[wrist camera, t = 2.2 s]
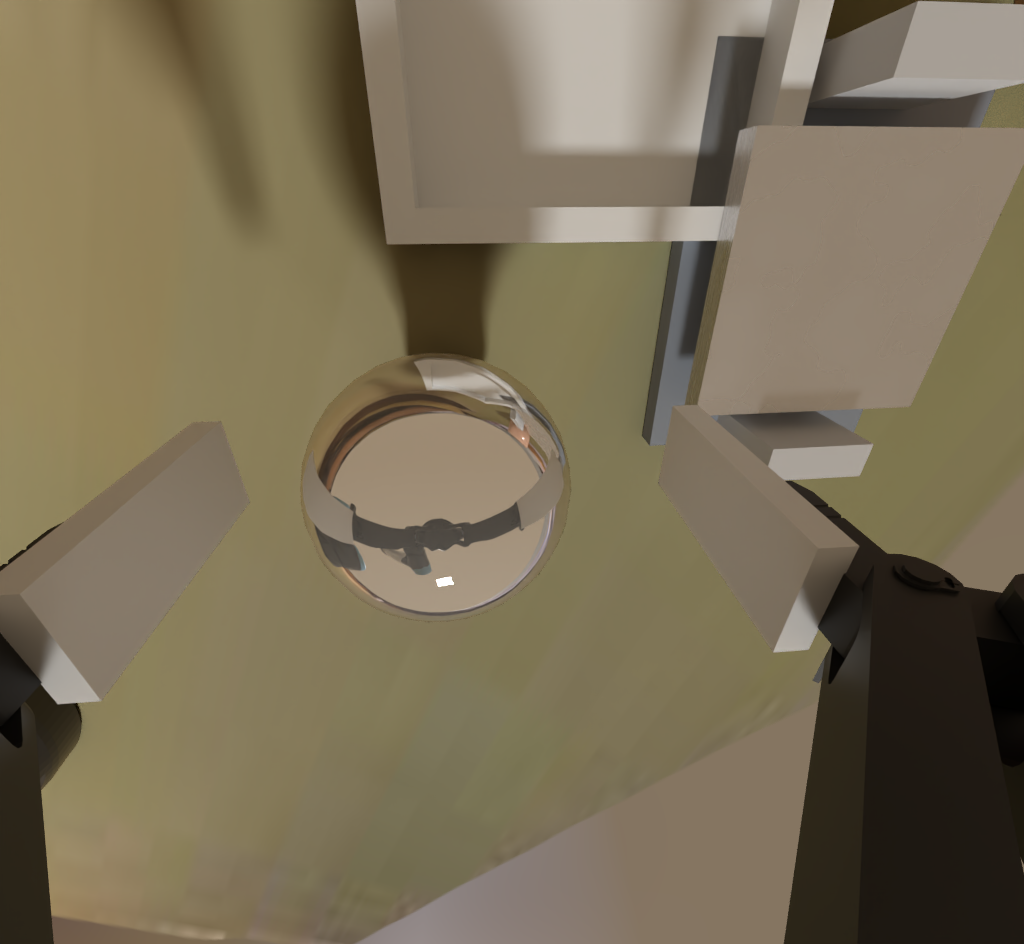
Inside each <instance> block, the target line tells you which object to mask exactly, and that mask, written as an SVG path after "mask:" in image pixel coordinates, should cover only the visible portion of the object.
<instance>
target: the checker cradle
mask: <svg viewBox="0 0 1024 944" xmlns="http://www.w3.org/2000/svg"><path fill="white" fill-rule="evenodd" d="M720 37H721V38H720ZM726 37H727V41H726V39H725V36H723V37H722V36H718V39H717V42H719V41H720V40H722V39H723V40H722V42H720V45H718V44H719V43H718V44H717V45H718V46H717V45H716V50H718V52H717V53H718V54H720V55H719V56H718V54H717V56H718V57H719V58H720V57H721V58H720V59H719V60H718V57H717V56H715V57H716V58H715V57H714V60H715V62H714V64H713V65H714V66H713V67H714V68H713V69H712V71H714V72H713V73H712V74H713V75H714V73H715V75H714V76H713V75H711V78H712V76H713V80H711V81H712V82H711V81H710V83H712V85H711V86H712V88H714V89H716V88H718V87H719V86H720V85H719V84H720V81H717V82H716V81H715V80H717V78H718V77H720V76H721V79H722V78H724V75H725V76H726V75H727V74H731V75H732V74H733V73H732V72H733V71H734V70H735V69H736V68H737V67H738V66H739V67H740V66H741V64H743V65H744V66H745V64H747V63H746V62H744V60H745V59H748V60H750V59H751V60H752V59H753V60H754V58H755V61H756V60H757V59H756V57H758V56H756V55H757V54H758V53H761V52H762V47H761V45H760V43H761V44H762V42H763V41H764V37H760V38H762V39H763V40H761V39H760V38H759V40H757V39H758V38H757V37H755V38H757V39H755V38H754V37H753V39H751V38H750V37H749V39H748V37H746V38H745V40H743V38H744V37H743V36H742V37H740V36H739V39H740V38H741V39H740V40H741V41H740V42H738V41H739V40H738V38H737V37H738V36H736V37H735V39H732V38H733V37H734V36H726ZM730 37H731V38H730ZM728 39H729V42H730V41H731V42H730V43H728ZM736 39H737V40H736ZM747 39H748V40H749V42H747V43H746V41H748V40H747ZM754 39H755V41H754V42H756V46H757V45H760V46H758V47H755V45H754V46H753V44H754V42H753V43H752V40H754ZM732 40H733V41H734V40H735V41H737V42H738V44H737V45H738V47H739V48H738V50H740V49H741V50H742V53H743V55H746V53H748V54H747V55H749V54H750V53H751V57H753V56H754V55H752V54H753V53H752V52H753V51H751V50H750V53H749V52H748V51H749V50H748V51H747V50H746V49H745V47H747V44H748V43H749V44H750V43H751V44H750V45H751V47H753V48H754V47H755V48H754V53H755V50H756V49H757V48H758V49H759V48H760V49H761V50H760V49H759V50H760V51H761V52H758V53H757V51H759V50H756V55H755V56H756V57H753V58H748V56H747V55H746V56H747V58H746V56H745V57H743V58H745V59H743V58H740V55H741V54H742V53H741V54H740V51H739V52H737V51H738V50H736V49H737V45H736V48H735V46H734V47H733V45H735V44H736V43H737V42H735V41H734V42H735V44H733V41H732ZM742 40H743V41H742ZM724 41H725V42H726V43H725V42H724ZM744 41H745V42H744ZM758 41H760V43H759V42H758ZM723 42H724V43H723ZM742 42H744V43H745V44H744V43H742ZM721 43H722V44H721ZM727 43H728V45H727ZM740 43H742V46H743V44H744V47H743V48H742V46H741V44H740ZM763 43H764V42H763ZM723 44H724V46H725V47H724V48H723ZM725 44H726V45H725ZM729 44H730V47H729ZM721 45H722V46H721ZM731 45H732V46H731ZM739 45H740V46H739ZM745 45H746V46H745ZM719 46H721V47H720V49H719ZM748 46H749V45H748ZM717 47H718V49H717ZM727 47H728V49H729V48H730V49H729V50H727ZM731 47H733V48H735V49H734V50H736V52H737V53H736V52H735V54H737V55H736V56H739V57H738V59H739V58H740V59H739V61H740V60H741V59H742V61H743V62H742V61H741V62H742V63H741V62H740V63H741V64H740V65H739V62H738V60H736V57H735V55H734V53H733V52H734V50H732V51H731ZM751 47H750V46H749V47H748V48H747V49H752V50H753V48H751ZM725 48H726V51H725ZM733 48H732V49H733ZM721 49H722V50H721ZM727 51H728V52H727ZM745 51H747V52H746V53H745ZM715 52H716V51H715ZM720 52H721V53H720ZM722 52H724V54H725V53H726V52H727V53H728V54H729V52H730V53H731V54H730V55H732V54H733V57H734V58H733V57H731V59H729V58H730V57H729V56H730V55H728V54H725V55H724V54H723V53H722ZM738 53H739V54H740V55H738ZM744 53H745V54H744ZM722 54H723V57H722ZM726 55H727V56H726ZM758 55H759V56H760V54H758ZM724 57H727V58H728V59H727V58H726V59H727V63H730V60H731V63H733V61H734V59H735V63H736V61H737V63H736V65H734V64H735V63H734V64H732V65H734V66H732V65H731V66H732V70H730V69H731V66H730V69H729V65H730V64H731V63H730V64H728V68H726V67H727V65H725V64H727V63H726V59H725V58H724ZM741 57H742V56H741ZM749 57H750V56H749ZM760 57H761V56H760ZM760 57H759V58H760ZM722 58H723V59H722ZM732 58H733V59H732ZM759 58H758V61H756V62H754V61H749V62H748V60H746V61H747V62H748V63H749V65H750V64H751V66H752V68H751V66H749V68H750V69H749V68H748V70H747V66H748V65H747V66H746V67H744V69H745V68H746V72H747V71H748V72H750V73H745V72H744V71H745V70H743V68H742V67H743V65H742V67H740V68H742V69H741V70H738V71H737V70H736V71H734V75H736V74H737V76H738V74H739V79H738V77H737V79H736V76H735V77H734V78H735V80H736V81H735V80H734V79H732V78H733V76H734V75H732V77H730V78H731V80H730V79H729V78H728V76H729V75H728V76H727V80H725V78H726V77H725V78H724V79H722V80H721V84H723V86H724V85H725V84H724V83H725V82H726V81H727V84H728V86H730V84H731V83H732V82H734V83H732V85H731V86H732V87H731V88H733V87H734V85H733V84H735V83H736V84H735V87H734V89H732V90H733V91H734V94H733V98H734V95H735V94H736V95H737V94H738V95H739V93H737V92H736V93H735V89H736V88H737V89H739V88H741V89H739V90H742V89H744V91H745V92H747V90H748V92H747V94H749V93H750V92H749V91H750V89H752V88H753V87H752V88H750V89H747V88H748V87H747V86H748V84H747V83H748V82H749V83H751V84H749V85H752V84H753V82H751V81H752V80H751V79H752V77H749V78H748V75H746V74H750V75H751V76H752V74H753V73H754V72H756V73H754V75H756V74H757V70H756V69H755V68H754V67H755V65H756V66H757V64H759V63H758V62H759V61H760V59H759ZM722 60H723V61H724V60H725V61H724V63H725V64H724V63H723V64H724V67H719V66H722V65H723V64H722V65H720V64H721V62H723V61H722ZM732 60H733V61H732ZM716 61H717V63H718V64H719V65H718V67H716V66H715V63H716ZM728 61H729V62H728ZM750 62H751V63H750ZM717 63H716V65H717ZM744 63H745V64H744ZM752 63H753V64H752ZM755 63H757V64H755ZM737 64H738V65H737ZM754 64H755V65H754ZM753 65H754V66H753ZM725 66H726V67H725ZM735 66H737V67H735ZM715 67H716V68H715ZM733 67H734V68H733ZM739 67H738V68H737V69H739ZM758 67H759V66H758ZM758 67H756V68H757V69H758ZM717 68H719V69H720V70H722V72H723V71H724V73H721V72H720V73H721V74H720V73H719V71H720V70H718V71H717ZM724 68H726V72H727V73H726V72H725V69H724ZM753 68H754V70H756V71H754V70H753V71H754V72H753V71H751V70H752V69H753ZM714 69H715V70H714ZM723 69H724V70H723ZM727 69H728V70H727ZM749 70H750V71H749ZM715 71H716V72H715ZM728 71H730V73H729V72H728ZM731 71H732V72H731ZM741 71H742V72H741ZM739 72H741V74H740V73H739ZM743 72H744V74H745V75H743V77H744V76H747V77H746V78H748V79H750V78H751V79H750V80H751V81H750V80H748V79H746V78H745V77H744V79H746V80H748V82H747V83H746V84H747V86H746V87H747V88H746V89H747V90H745V85H746V84H745V83H743V79H742V78H743V77H741V76H740V75H742V74H743ZM751 72H753V73H751ZM718 73H719V74H720V75H718ZM725 73H726V74H725ZM716 74H717V75H718V77H717V78H715V79H714V77H716V76H717V75H716ZM723 74H724V75H723ZM722 75H723V77H722ZM750 75H749V76H750ZM754 75H753V81H754V83H755V82H756V79H754ZM756 76H757V75H756ZM740 77H741V79H742V80H741V79H740ZM755 78H756V77H755ZM719 80H720V78H719ZM723 80H725V81H723ZM738 80H739V81H738ZM713 81H715V82H714V83H715V84H713ZM722 81H723V82H722ZM728 81H729V83H728ZM730 81H731V83H730ZM737 81H738V83H737ZM718 82H719V83H718ZM740 82H741V84H742V83H743V85H742V86H744V88H742V87H741V86H740V85H739V83H740ZM745 82H746V81H745ZM716 83H717V84H718V85H719V86H717V84H716ZM1021 83H1024V5H1022V4H994V3H966V2H937V1H917V2H914V3H912V4H910V5H908V6H906V7H903V8H901V9H899V10H897V11H895V12H892V13H890V14H888V15H886V16H884V17H881V18H879V19H877V20H875V21H873V22H870V23H868V24H866V25H864V26H862V27H859V28H857V29H855V30H853V31H851V32H848V33H846V34H844V35H842V36H840V37H837V38H835V39H824V43H823V47H822V51H821V55H820V59H819V63H818V67H817V70H816V74H815V78H814V82H813V86H812V90H811V94H810V98H809V102H808V106H807V110H806V114H805V117H804V121H803V125H802V126H869V127H963V128H980V125H981V123H982V121H983V118H984V116H985V113H986V111H987V109H988V106H989V104H990V101H991V99H992V96H993V94H994V92H995V89H999V88H1004V87H1008V86H1012V85H1017V84H1021ZM713 85H714V86H715V85H716V88H715V87H714V86H713ZM737 85H738V86H739V87H737ZM754 85H755V84H754ZM754 85H753V86H754ZM723 86H720V89H721V87H723ZM726 86H727V85H725V87H726ZM725 87H723V88H725ZM750 87H751V86H750ZM754 87H755V86H754ZM723 88H722V89H721V90H719V88H718V90H717V89H716V90H717V91H716V93H715V90H713V89H711V87H710V88H709V90H710V89H711V90H710V93H708V94H711V93H712V90H713V92H714V93H715V95H717V98H718V96H719V95H720V93H721V92H723V93H721V95H720V96H722V94H725V92H727V89H728V92H727V93H728V94H727V93H726V94H725V95H726V96H725V95H723V97H725V99H726V97H728V95H729V94H731V96H732V93H733V92H732V93H730V89H731V88H729V87H728V88H726V89H724V90H723ZM737 89H736V91H738V90H737ZM725 90H726V91H725ZM719 91H720V93H719ZM724 91H725V92H724ZM752 91H754V90H753V89H752ZM738 92H740V94H741V91H738ZM742 92H743V90H742ZM718 94H719V95H718ZM743 94H745V93H743ZM743 94H742V95H743ZM747 94H746V95H744V96H745V102H746V100H748V101H751V99H750V97H749V99H748V97H746V96H748V95H747ZM752 94H753V92H752ZM736 95H735V98H736V97H737V98H736V99H738V98H739V97H740V96H741V95H740V96H738V95H737V96H736ZM708 96H709V97H708V100H707V102H709V104H710V103H711V102H713V104H715V103H716V102H717V105H716V104H715V105H716V108H717V106H718V108H719V109H720V110H719V109H718V108H717V109H718V110H717V109H714V110H713V109H711V111H713V112H714V111H715V110H717V112H718V111H719V112H720V113H717V112H716V111H715V113H717V114H716V115H717V117H718V116H719V117H718V118H719V120H720V118H722V116H724V115H725V117H727V116H726V115H728V116H729V114H728V113H730V112H729V111H728V110H729V109H730V111H731V109H732V111H734V113H733V114H735V115H734V116H739V115H738V113H739V111H741V112H740V113H742V114H743V115H744V117H745V114H744V113H743V111H742V110H739V109H740V108H738V113H737V112H736V110H737V107H739V106H740V105H741V104H739V105H738V106H736V105H737V104H738V102H737V101H736V100H735V99H733V98H732V97H731V96H730V98H731V101H732V99H733V100H735V104H736V103H737V104H736V105H735V106H736V107H735V106H734V107H731V106H732V105H734V101H732V102H733V104H730V100H728V98H727V102H725V101H724V102H721V101H723V100H721V99H722V97H720V96H719V98H718V99H717V101H716V102H714V101H715V100H716V98H714V94H713V93H712V95H711V96H712V97H713V100H712V98H710V97H711V96H710V95H708ZM744 96H743V97H744ZM749 96H751V93H750V94H749ZM751 97H752V96H751ZM709 98H710V99H711V100H709ZM730 98H729V99H730ZM746 98H747V99H746ZM714 99H715V100H714ZM719 99H720V101H719ZM741 99H742V97H741V98H739V100H741ZM739 100H738V101H739ZM743 100H744V99H743ZM710 101H711V102H710ZM718 101H719V102H718ZM741 101H742V100H741ZM748 101H747V103H744V101H742V102H740V101H739V103H743V105H745V104H747V105H746V106H749V105H751V104H750V103H751V102H750V103H749V104H748ZM720 102H721V104H719V105H718V103H720ZM732 102H731V103H732ZM722 103H723V105H724V106H720V105H722ZM726 103H728V104H727V105H729V104H730V108H729V109H728V106H726ZM707 105H708V104H707ZM707 105H706V108H708V110H707V109H706V111H707V112H708V111H709V106H708V107H707ZM711 105H712V103H711V104H710V107H711ZM715 105H712V106H713V108H714V106H715ZM743 105H742V106H743ZM719 106H720V107H719ZM746 106H744V110H746V109H747V108H748V107H746ZM721 107H722V109H723V108H725V107H726V108H725V109H726V110H725V109H724V110H725V111H728V112H726V114H725V111H724V112H722V114H721ZM745 107H746V109H745ZM749 107H750V106H749ZM711 108H712V107H711ZM735 108H736V110H733V109H735ZM742 109H743V108H742ZM748 109H749V110H750V108H748ZM748 109H747V110H746V111H745V113H746V112H747V111H748ZM711 111H709V112H710V113H709V112H708V113H707V112H706V113H707V115H708V114H711V116H712V113H713V112H712V113H711ZM722 111H723V110H722ZM706 113H705V117H706ZM715 113H714V116H715V119H712V117H711V119H712V120H713V121H714V122H715V124H713V125H716V122H717V121H718V119H717V121H716V118H717V117H716V115H715ZM740 113H739V114H740ZM719 114H721V117H720V115H719ZM723 114H724V115H723ZM730 114H731V115H730V116H731V118H732V115H733V114H732V113H730ZM743 115H740V118H741V117H743ZM746 115H747V114H746ZM714 116H713V117H714ZM748 116H749V111H748ZM748 116H747V117H748ZM705 117H704V118H705ZM709 117H710V115H709ZM709 117H707V119H706V118H705V119H704V121H705V120H706V121H707V122H704V123H703V125H705V126H706V125H708V123H710V121H709V120H711V119H710V118H709ZM744 117H743V120H744ZM729 118H730V117H729ZM731 118H730V119H731ZM734 118H735V117H734ZM734 118H732V119H733V120H732V119H731V122H733V123H731V124H733V125H734V123H735V125H736V122H737V121H736V120H735V119H734ZM740 118H739V119H737V118H736V119H737V120H738V121H740V120H742V119H740ZM745 118H746V117H745ZM708 119H709V120H708ZM722 119H723V120H724V122H722V120H721V126H722V123H723V126H726V125H724V124H726V123H727V124H728V126H730V125H731V124H730V123H728V120H727V119H728V118H727V119H726V118H725V119H724V117H723V118H722ZM712 120H711V123H712ZM725 120H727V121H726V123H725ZM734 120H735V121H734ZM745 120H746V119H745ZM708 121H709V122H708ZM729 121H730V120H729ZM746 121H748V120H746ZM746 121H743V122H746ZM740 122H741V124H742V121H740ZM706 123H707V124H706ZM711 123H710V125H711ZM737 123H738V122H737ZM729 124H730V125H729ZM741 124H740V123H739V125H737V126H736V128H734V129H735V130H737V129H738V128H739V127H738V126H740V125H741ZM746 124H747V123H745V125H744V124H742V126H744V129H746V127H745V126H746ZM710 125H708V126H710ZM713 125H712V127H713ZM735 125H734V127H735ZM705 126H703V127H704V128H705V129H706V130H704V129H703V130H704V132H705V131H706V132H708V133H706V134H705V133H704V132H703V130H702V133H704V134H702V135H701V137H702V136H703V137H704V139H703V140H701V142H700V143H701V147H702V144H703V147H704V146H705V147H704V148H702V149H705V148H706V150H704V153H703V151H701V148H700V149H699V150H700V152H699V153H701V152H702V153H701V154H702V155H701V154H700V157H699V158H701V156H703V155H704V154H707V155H708V158H709V157H711V155H712V157H713V156H714V158H715V157H716V159H715V160H711V162H710V160H709V161H708V160H706V159H707V158H706V159H705V161H704V162H702V158H704V157H706V156H707V155H704V156H703V157H702V158H701V159H700V160H701V162H700V163H698V162H697V167H699V166H701V165H702V166H703V163H705V162H706V161H708V162H707V163H709V162H710V163H712V161H714V162H713V163H712V165H711V166H710V164H707V163H706V164H707V168H708V171H709V169H710V167H711V168H712V166H714V167H715V168H714V169H716V172H717V173H719V172H718V171H719V170H720V169H721V168H722V164H721V163H722V162H723V161H724V163H725V168H727V167H728V166H730V164H729V163H730V162H732V163H733V160H732V161H731V160H730V159H729V160H730V162H729V163H728V164H727V163H726V162H727V161H728V160H727V161H725V160H726V158H728V157H730V156H731V154H732V155H734V152H735V151H734V150H733V149H732V148H731V146H732V145H731V146H730V147H728V148H727V150H728V149H729V148H730V150H729V151H731V150H732V152H730V153H731V154H729V152H728V154H726V153H727V152H726V153H724V154H723V153H721V150H720V152H718V155H717V153H716V154H715V155H716V156H715V155H713V154H714V153H715V149H713V148H711V147H712V145H714V144H712V143H711V142H710V144H709V145H707V144H708V143H709V142H708V143H706V142H707V141H708V140H706V139H707V138H706V136H707V135H708V136H709V140H713V143H714V142H715V147H716V144H717V143H716V139H714V138H717V137H718V136H719V135H718V134H720V135H721V134H723V137H722V136H721V139H720V140H719V142H720V141H722V138H724V141H725V139H726V138H727V136H729V137H728V138H729V139H730V137H733V138H734V136H736V138H738V137H737V135H738V134H739V132H738V131H739V130H741V128H739V129H738V131H736V132H738V133H736V132H735V130H733V127H732V129H731V130H732V131H734V132H735V133H734V132H732V133H733V134H734V136H732V135H733V134H730V135H729V133H730V131H731V130H730V131H728V130H729V129H730V128H728V129H726V128H727V127H728V126H726V127H723V126H722V128H724V133H725V132H726V133H725V134H727V131H728V132H729V133H728V135H726V136H725V134H724V133H723V132H722V131H723V130H722V131H721V129H722V128H720V132H722V133H718V134H717V132H719V130H718V131H716V130H717V129H716V130H715V128H716V127H717V126H718V123H717V126H716V127H715V126H714V127H715V128H714V127H713V128H714V130H713V129H711V130H712V132H710V135H709V131H707V130H708V129H707V127H708V126H706V127H705ZM721 126H720V121H719V127H721ZM731 126H732V125H731ZM731 126H730V127H731ZM742 126H741V127H742ZM712 127H711V128H712ZM719 127H718V128H719ZM737 127H738V128H737ZM709 128H710V127H709ZM711 130H710V131H711ZM713 132H716V134H715V133H714V134H715V135H713V136H717V135H718V136H717V137H714V138H713V139H712V137H713V136H711V135H712V134H711V133H713ZM710 136H711V139H710ZM705 138H706V139H705ZM719 138H720V137H719ZM719 138H718V139H719ZM728 138H727V139H728ZM718 139H717V140H718ZM727 139H726V142H725V143H728V140H727ZM704 140H706V141H705V144H706V145H707V146H710V145H711V144H712V145H711V146H710V149H709V148H708V149H709V150H712V149H713V150H712V151H711V152H712V153H713V154H710V156H709V150H708V149H707V147H706V145H705V144H704ZM730 140H731V142H732V140H733V141H734V140H735V139H732V138H731V139H730ZM730 140H729V143H730ZM736 141H737V140H736ZM725 143H723V142H720V143H719V145H720V144H721V148H720V149H722V148H723V147H724V144H725ZM729 143H728V144H729ZM732 143H733V145H736V144H737V143H736V142H732ZM728 144H725V145H728ZM722 145H723V146H722ZM729 145H730V144H729ZM729 145H728V146H729ZM717 146H718V145H717ZM719 147H720V146H718V148H717V150H718V151H719ZM732 147H733V146H732ZM735 147H736V146H735ZM724 149H726V147H724V148H723V150H724ZM734 149H736V148H734ZM707 150H708V153H705V152H707ZM717 150H716V152H717ZM727 150H726V151H727ZM713 151H714V152H713ZM724 151H725V150H724ZM733 151H734V152H733ZM711 152H710V153H711ZM720 153H721V154H722V155H721V156H719V154H720ZM725 154H726V155H725ZM723 155H725V156H723ZM727 155H728V157H727ZM729 155H730V156H729ZM698 156H699V155H698ZM717 156H719V157H718V158H717ZM712 157H711V158H712ZM720 157H724V158H725V157H726V158H725V159H724V158H723V161H721V163H719V165H720V166H721V168H720V166H719V168H720V169H718V171H717V168H718V167H716V166H717V165H718V164H716V163H715V162H716V160H717V159H718V160H719V161H720V160H721V159H722V158H721V159H719V158H720ZM714 158H713V159H714ZM730 158H731V159H732V158H733V156H732V157H730ZM700 160H699V159H697V161H700ZM719 161H717V163H718V162H719ZM724 163H723V164H724ZM732 163H731V165H732ZM698 164H701V165H699V166H698ZM706 164H705V165H706ZM715 164H716V165H715ZM705 165H704V166H705ZM702 166H701V167H702ZM726 166H727V167H726ZM697 167H696V168H697ZM701 167H700V168H701ZM705 167H706V166H705ZM705 167H702V168H704V171H703V172H705V171H706V170H707V169H705ZM731 167H732V166H731ZM700 168H699V169H700ZM725 168H724V165H723V169H725ZM728 168H730V167H728ZM699 169H696V171H698V174H699V172H700V171H701V170H700V171H699ZM731 169H732V168H730V169H729V170H728V169H727V170H728V173H727V170H723V171H724V172H725V171H726V172H725V173H726V175H725V173H723V171H722V173H723V174H724V176H726V177H727V175H728V177H730V176H729V171H730V170H731ZM702 170H703V169H702ZM708 171H706V174H705V173H702V171H701V173H700V174H702V175H703V176H704V177H705V175H706V176H707V175H708V174H710V173H709V172H708ZM707 172H708V174H707ZM710 172H713V168H712V171H711V169H710ZM730 172H731V171H730ZM713 173H715V171H714V172H713ZM713 173H711V174H712V178H713V179H714V178H715V175H716V178H717V173H716V174H715V175H713ZM720 173H721V172H720ZM720 173H719V175H718V176H720ZM722 173H721V174H722ZM704 174H705V175H704ZM711 174H710V175H711ZM723 174H722V175H723ZM730 174H731V173H730ZM710 175H708V177H709V176H710ZM697 176H698V175H697V172H696V173H695V177H696V178H698V177H697ZM703 176H701V175H700V176H699V178H700V177H701V179H702V177H703ZM713 176H714V177H713ZM724 176H722V177H721V178H724V179H723V181H724V180H725V181H724V182H726V178H725V177H724ZM706 178H707V177H706ZM710 178H711V176H710V177H709V179H710ZM718 178H719V177H718ZM721 178H720V180H721ZM707 179H708V178H707ZM709 179H708V180H709ZM728 179H729V178H728ZM697 180H698V181H699V184H700V180H699V179H697ZM703 180H704V178H703ZM705 180H706V179H705ZM705 180H704V181H703V182H706V181H707V180H706V181H705ZM715 180H716V179H715ZM715 180H714V181H715ZM717 180H718V179H717ZM720 180H718V181H720ZM694 181H695V180H694ZM714 181H713V182H714ZM718 181H717V182H716V181H715V182H716V183H718ZM723 181H720V182H723ZM727 181H728V180H727ZM701 182H702V180H701ZM709 182H711V180H710V181H709ZM713 182H711V186H709V187H708V184H707V186H706V183H705V185H704V184H703V183H701V189H703V188H704V190H705V187H704V186H706V187H707V188H708V190H709V188H710V191H712V190H711V189H713V188H714V187H715V186H716V184H715V186H713V185H712V183H713ZM720 182H719V183H718V184H720ZM724 182H723V184H720V185H721V186H720V185H719V187H721V188H717V187H718V186H716V187H715V189H716V190H717V189H718V190H719V189H720V190H721V189H722V190H723V189H724V188H726V186H725V187H724V186H723V187H724V188H722V185H724ZM728 182H729V181H728ZM707 183H708V182H707ZM726 183H727V182H726ZM694 184H695V182H694ZM696 184H697V182H696ZM696 184H695V185H696ZM713 184H714V183H713ZM695 185H693V186H694V187H695ZM702 185H703V186H702ZM709 185H710V183H709ZM725 185H726V184H725ZM727 185H728V183H727ZM699 186H700V185H699ZM712 186H713V188H711V187H712ZM694 187H693V188H694ZM702 187H703V188H702ZM695 188H698V186H696V187H695ZM695 188H694V190H695ZM701 189H700V190H701ZM715 189H714V192H716V191H715ZM727 189H728V186H727ZM698 190H699V188H698ZM706 190H707V189H706ZM725 190H726V189H725ZM725 190H723V191H725ZM692 192H693V190H692ZM695 192H697V190H696V191H695ZM695 192H693V193H694V195H695ZM703 192H704V191H702V193H701V192H700V193H701V196H702V194H703ZM707 192H708V193H709V191H706V192H705V193H707ZM714 192H712V194H713V193H714ZM705 193H704V194H705ZM717 193H718V191H717ZM717 193H716V194H717ZM721 193H723V195H725V193H724V192H720V193H719V194H718V195H720V194H721ZM712 194H711V193H710V194H708V195H709V196H710V195H712ZM726 194H727V191H726ZM694 195H692V196H691V197H694V198H698V201H701V200H703V199H704V198H703V197H705V195H706V197H705V198H707V197H708V196H707V194H705V195H704V196H702V198H703V199H701V198H700V199H701V200H700V199H699V197H700V196H699V197H695V196H694ZM698 195H699V192H698V194H697V195H696V196H698ZM714 196H715V194H714ZM721 196H722V195H720V199H723V200H725V199H724V198H723V196H722V197H721ZM711 197H712V196H711ZM715 197H716V198H717V196H715ZM715 197H714V198H713V197H712V198H713V199H715ZM712 198H710V199H711V202H712ZM708 199H709V197H708ZM720 199H719V197H718V200H717V199H715V200H717V201H719V200H720ZM691 200H692V198H691ZM698 201H697V202H698ZM705 201H706V199H705ZM707 201H708V200H707ZM707 201H706V202H707ZM717 201H716V203H717ZM720 201H721V200H720ZM691 202H692V203H693V206H694V207H695V204H694V201H693V200H692V201H691ZM706 202H704V200H703V203H705V204H704V205H706ZM721 202H722V201H721ZM724 202H725V201H724ZM695 203H696V202H695ZM698 203H699V204H700V202H698ZM698 203H697V204H698ZM703 203H702V202H701V204H700V206H701V207H702V204H703ZM708 203H709V204H710V202H708ZM708 203H707V206H706V207H708ZM719 203H720V202H719ZM714 204H715V203H714ZM714 204H712V203H711V205H714ZM691 205H692V204H691ZM691 205H690V206H691ZM704 205H703V206H704ZM711 205H710V206H711ZM717 205H718V204H717ZM719 205H720V204H719ZM719 205H718V206H719ZM693 206H692V207H693ZM715 206H716V205H715ZM723 206H724V205H723ZM696 207H697V206H696ZM716 245H717V241H673V242H672V248H671V254H670V261H669V267H668V274H667V280H666V287H665V293H664V299H663V306H662V312H661V319H660V325H659V332H658V338H657V344H656V351H655V357H654V364H653V370H652V377H651V383H650V389H649V396H648V402H647V409H646V415H645V422H644V428H643V434H642V437H643V438H644V439H645V440H646V442H647V443H648V444H649V445H650V446H651V445H666V440H667V434H668V429H669V424H670V418H671V413H672V408H673V406H681V405H685V400H686V395H687V390H688V385H689V380H690V375H691V370H692V365H693V360H694V355H695V350H696V345H697V340H698V335H699V330H700V325H701V320H702V315H703V310H704V305H705V300H706V295H707V290H708V285H709V280H710V275H711V270H712V265H713V260H714V255H715V250H716ZM862 411H863V409H849V410H826V411H803V412H781V413H758V414H735V415H713V416H711V417H712V418H713V419H714V420H715V421H716V422H718V423H719V424H720V425H721V426H722V427H723V428H724V429H726V430H727V431H728V432H729V433H730V434H731V435H733V436H734V437H735V438H736V439H737V440H738V441H739V442H741V443H742V444H743V445H744V446H745V447H746V448H747V449H749V450H750V451H751V452H752V453H753V454H754V455H755V456H757V457H758V458H759V459H760V460H761V461H762V462H763V463H765V464H766V465H767V466H768V467H769V468H770V469H772V470H773V471H774V472H775V473H776V474H777V475H778V476H780V477H781V478H782V479H783V480H798V479H815V478H833V477H850V476H860V474H861V472H862V469H863V467H864V465H865V463H866V460H867V458H868V456H869V454H870V451H871V449H872V447H873V445H874V444H873V443H871V442H869V441H867V440H865V439H864V438H862V437H860V436H858V435H857V434H855V433H854V430H855V428H856V425H857V423H858V420H859V418H860V416H861V413H862Z"/></svg>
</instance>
